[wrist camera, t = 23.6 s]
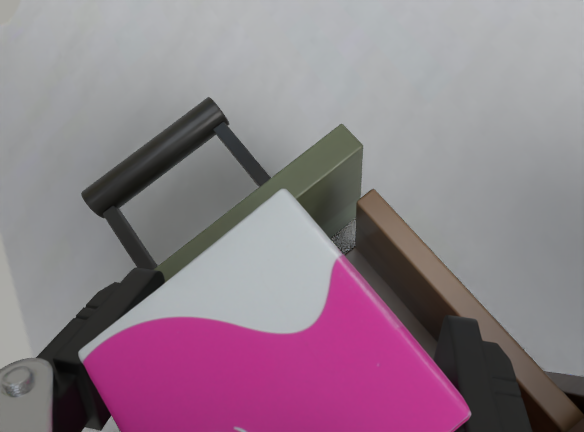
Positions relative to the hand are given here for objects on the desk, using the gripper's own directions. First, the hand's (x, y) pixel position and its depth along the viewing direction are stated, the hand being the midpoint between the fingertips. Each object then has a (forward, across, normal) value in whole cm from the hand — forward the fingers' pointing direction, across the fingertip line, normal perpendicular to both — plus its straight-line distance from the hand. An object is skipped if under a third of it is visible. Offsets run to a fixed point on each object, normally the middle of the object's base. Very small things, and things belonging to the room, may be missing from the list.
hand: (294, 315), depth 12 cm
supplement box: (+5, 0, +6) cm, 8 cm away
